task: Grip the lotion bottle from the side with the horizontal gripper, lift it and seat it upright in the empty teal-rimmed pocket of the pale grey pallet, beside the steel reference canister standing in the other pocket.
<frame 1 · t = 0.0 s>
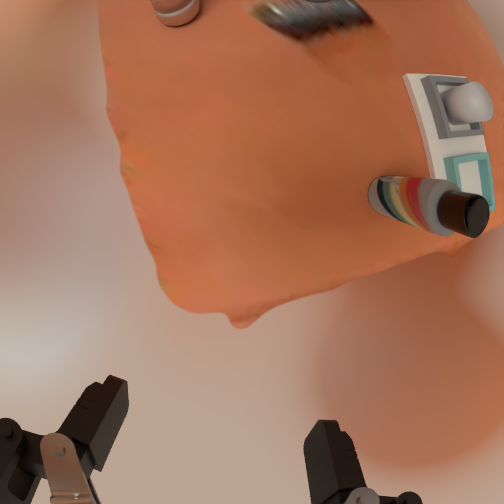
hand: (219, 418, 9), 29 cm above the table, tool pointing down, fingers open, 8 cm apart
pallet: (455, 146, 33), on the table
lotion bottle: (383, 195, 36), on the table
plastic bottle: (181, 15, 28), on the table
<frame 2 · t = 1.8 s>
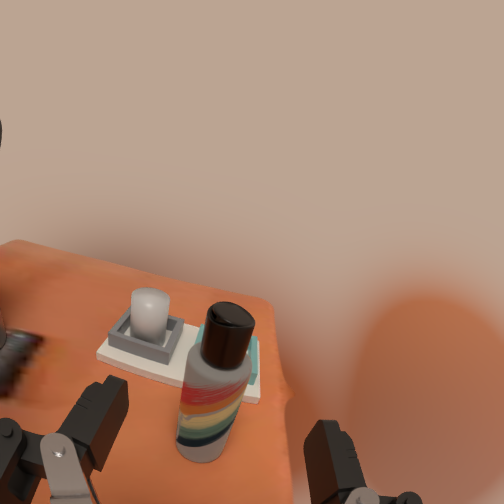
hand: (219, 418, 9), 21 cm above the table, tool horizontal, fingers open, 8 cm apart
pallet: (183, 355, 42), on the table
lotion bottle: (198, 446, 26), on the table
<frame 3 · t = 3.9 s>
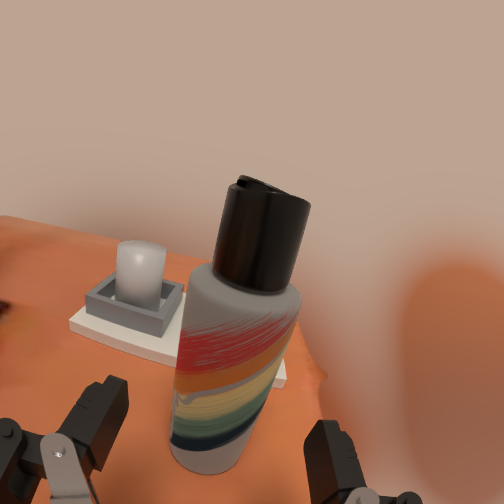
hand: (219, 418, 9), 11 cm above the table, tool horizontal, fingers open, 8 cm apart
pallet: (182, 329, 33), on the table
lotion bottle: (204, 449, 17), on the table
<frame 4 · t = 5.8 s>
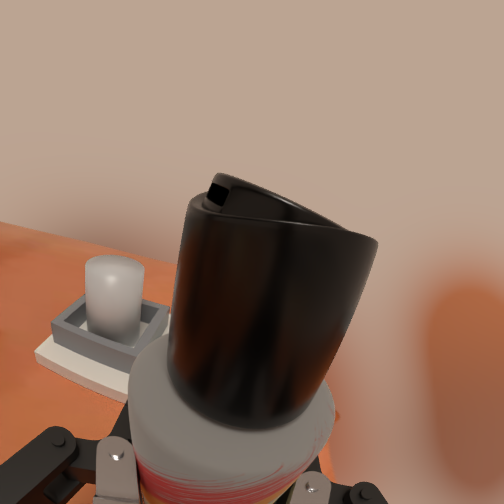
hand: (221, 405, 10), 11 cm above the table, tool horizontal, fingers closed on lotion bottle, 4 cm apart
pallet: (167, 362, 26), on the table
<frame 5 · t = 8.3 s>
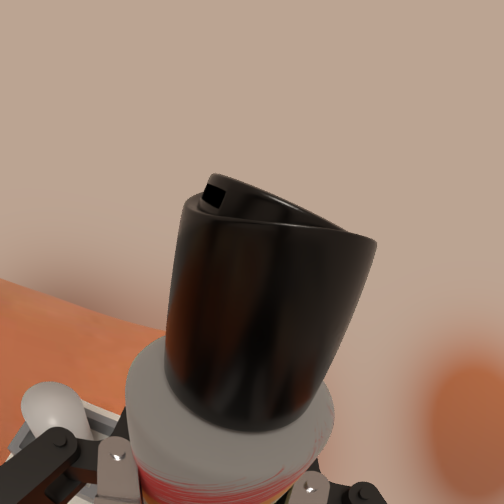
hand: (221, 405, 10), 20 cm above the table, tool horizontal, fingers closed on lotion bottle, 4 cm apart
pallet: (131, 480, 17), on the table
when the fingers open (13 cm above the table, at t = 10.7 s): lotion bottle stays where it is, resting on pallet.
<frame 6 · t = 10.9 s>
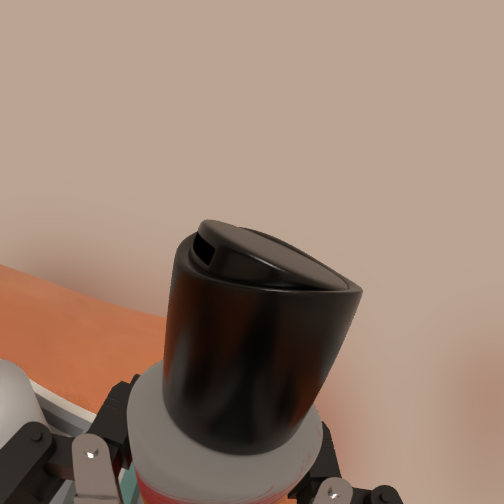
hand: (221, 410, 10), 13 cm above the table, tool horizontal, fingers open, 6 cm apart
pallet: (106, 499, 11), on the table
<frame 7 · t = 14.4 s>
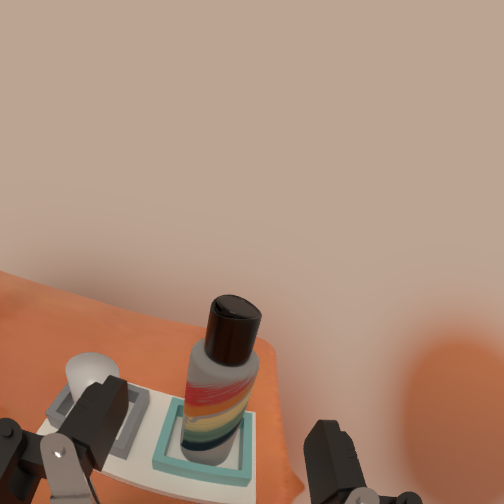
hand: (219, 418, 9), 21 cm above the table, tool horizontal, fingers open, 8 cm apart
pallet: (150, 439, 25), on the table
lotion bottle: (204, 450, 25), point 1 cm above the table, touching pallet
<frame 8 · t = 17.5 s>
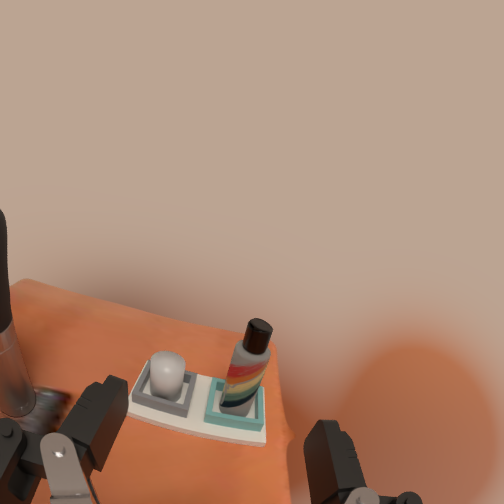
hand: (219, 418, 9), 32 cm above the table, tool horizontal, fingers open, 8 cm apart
pallet: (198, 405, 44), on the table
lotion bottle: (233, 409, 44), point 1 cm above the table, touching pallet
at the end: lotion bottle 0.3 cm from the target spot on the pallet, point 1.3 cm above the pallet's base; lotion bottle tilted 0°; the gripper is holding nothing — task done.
